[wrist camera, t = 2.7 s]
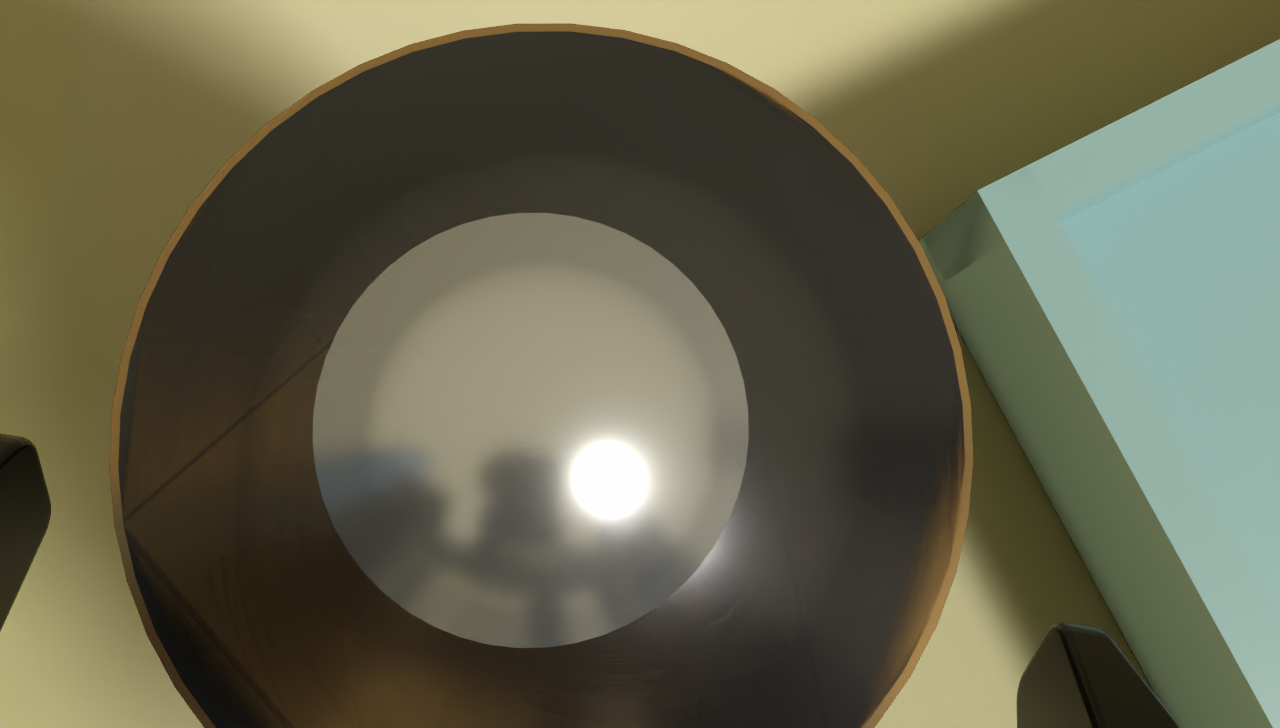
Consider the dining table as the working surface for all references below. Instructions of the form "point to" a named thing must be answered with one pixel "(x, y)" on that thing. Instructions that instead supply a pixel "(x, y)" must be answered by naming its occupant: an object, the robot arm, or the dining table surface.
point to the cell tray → (1149, 371)
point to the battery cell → (541, 406)
